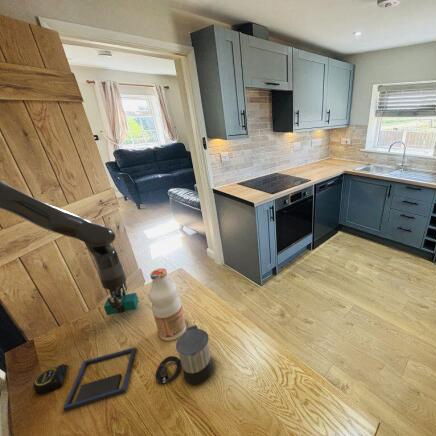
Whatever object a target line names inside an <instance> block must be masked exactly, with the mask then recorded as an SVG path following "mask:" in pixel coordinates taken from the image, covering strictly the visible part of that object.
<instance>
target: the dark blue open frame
mask: <svg viewBox="0 0 436 436" xmlns="http://www.w3.org/2000/svg"><path fill="white" fill-rule="evenodd" d="M136 351H137V349H136V347H132V348H128V349H123V350H120V351H117V352H113V353H109V354H105V355H102V356H98V357H95V358H90V359H87V360H84V361H82V365H81V367H80V369H79V371H78V374H77V376H76V379H75V381H74V382H73V385H72V388H71V390H70V392H69V394H68V396H67V399H66V401H65V403H64V406H63V408H62V409H63V411H64V412H68V411H71V410H73V409H77V408H80V407H83V406H86V405H89V404H93V403H96V402H99V401H102V400H106V399H108V398H111V397H115V396H118V395H121V394H124V393H127V389H128V384H129V380H130V376H131V371H132V368H133V364H134V359H135V357H136V356H135V354H136ZM128 355H129V360H128V363H127V367H126V371H125V374H124V379H123V383H122V386H121V387H119V388H118V389H116V390H113V391H110V392H107V393H103V394H100V395H97V396H94V397H91V398H87V399H84V400H81V401H78V402H75V401H74V402H73V400H74V398H75V397H76V396H75V395H76V393H77V391H78V388H79V386H80V383H81V381H82V379H83V376H84V374H85V372H86V370H87V367H88V366H89V365H94V364H97V363H101V362H104V361H108V360H111V359H116V358H119V357H122V356H123V357H124V356H128Z"/></svg>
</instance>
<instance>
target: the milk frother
mask: <svg viewBox="0 0 436 436" xmlns="http://www.w3.org/2000/svg"><path fill="white" fill-rule="evenodd" d="M175 343H176V344H175V351H176V352H177V353H178V356H179V357H178V356H175V355H170V356H167V357H165V358H164V359H163V360H161V362H160V363H159V365H158V367H157V368H156V370H155V380H156V382H157V383H158V384H160V385H165V384H169V383H172V382H173V381H174V380H176V378H177V377H178V376H179V374H180V371H181V368H182V371H183V378H184V381H185V382H186V383H187V384H188V385H190V386H197V385H200V384H203V383H205V382H206V381H207V380H208V379H209V378H210V377H211V376H212V374H213V370H214V364H213V360H212V354H211V350H210V344H209V334H208V333H207V331H206V330H204V329H201V328H198V325H197V324H195V325H194V324H193V325H191V326H189V327H187V328H186V331H185V332H184V333H183V334H182V335H181V336H180V337H178V338H177V340H176V342H175ZM169 362H172V363H175V364H176V369H175V372H174V374H173V375H171V377H169V376H168V373H167V368H166V365H167V364H168V363H169ZM168 377H169V378H168ZM167 378H168V379H167Z"/></svg>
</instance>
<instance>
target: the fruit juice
mask: <svg viewBox="0 0 436 436" xmlns="http://www.w3.org/2000/svg"><path fill="white" fill-rule="evenodd" d="M150 279H151V280H152V281H151V286H150V287H151V288H150V290H149V292H148V299H149V301H150V303H151V312H152V315H153V317H154V321H155V324H156V328H157V331H158V335H159V337H160V339H161V340H163V341H166V342H169V341H174V340H176V339H177V340H178V339H179V338H180V337H181V336H182V334H184V333H185V332H186V331H187V322H186V318H185V313H184V308H183V303H182V300H181V297H180V295H179V288H178V285H177V283H175V282H173V281H171V280H170V278H169V277H168V271H167V269H166V268H162V267H161V268H156V269H154V270H152V271H151V272H150Z"/></svg>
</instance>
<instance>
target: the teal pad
mask: <svg viewBox="0 0 436 436" xmlns="http://www.w3.org/2000/svg"><path fill="white" fill-rule="evenodd" d="M117 298H120V297H117ZM119 303H120V302H119ZM122 304H123V307H124V310H125V311H124V312H123V313H126V312H130V311H135V310H137V309H138V305H139V297H138V294H137V292H133V293H126V295H123V299H122ZM103 309H104V311H105V315H106V316H112V315H116V314H119V313H118V312H117V309H116V308H115V309H112V307H111V305H110V304H109V302H108V298H107V299H106V301H105V303H104V305H103Z"/></svg>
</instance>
